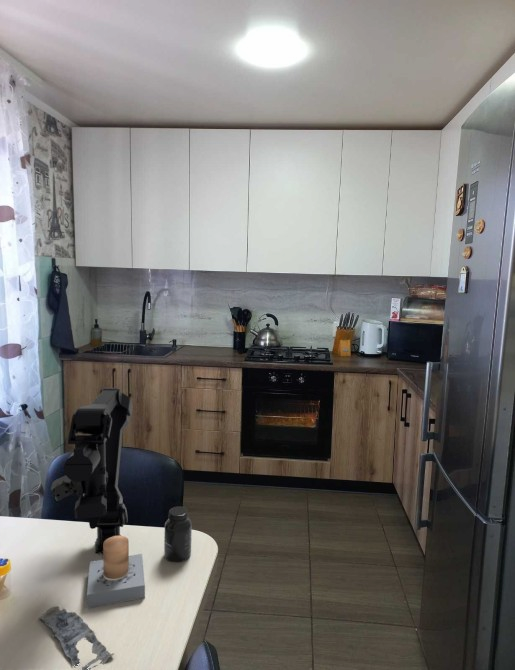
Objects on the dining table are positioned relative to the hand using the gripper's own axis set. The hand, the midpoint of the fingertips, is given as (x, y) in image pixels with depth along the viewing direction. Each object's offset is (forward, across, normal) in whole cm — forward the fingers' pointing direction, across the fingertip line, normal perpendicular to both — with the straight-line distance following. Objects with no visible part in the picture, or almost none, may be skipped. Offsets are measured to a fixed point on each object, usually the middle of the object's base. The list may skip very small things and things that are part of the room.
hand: (93, 527), depth 103 cm
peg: (+13, +3, +5) cm, 14 cm away
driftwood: (+14, +17, -3) cm, 22 cm away
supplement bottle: (+13, -5, +20) cm, 24 cm away
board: (+13, +3, +5) cm, 14 cm away
